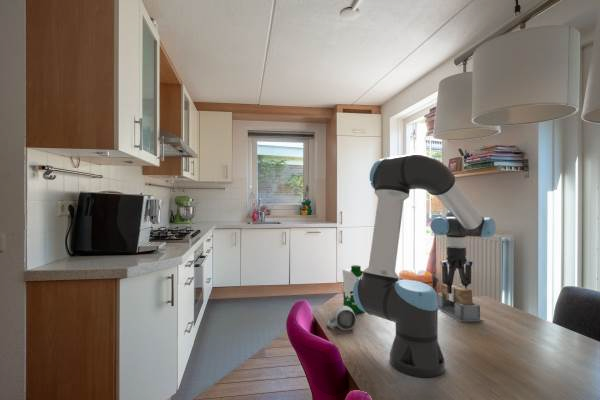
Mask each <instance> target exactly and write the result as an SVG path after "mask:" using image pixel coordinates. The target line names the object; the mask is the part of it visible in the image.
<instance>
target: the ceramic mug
mask: <svg viewBox="0 0 600 400" xmlns="http://www.w3.org/2000/svg"><path fill="white" fill-rule="evenodd" d="M356 324H357V316H356V313H354V312H353V310H352V309H351V308H350V307H348V306H343V305H340V306H339V307H338V308H337V309H336V311H335V316H334V317H332V318H331V319H329V320H327V326H328V327H329V328H334V327H338V328H339V329H340V330H342V331H350V330H351V331H352V330H353V328H354V327H356Z"/></svg>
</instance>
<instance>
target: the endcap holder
mask: <svg viewBox="0 0 600 400" xmlns="http://www.w3.org/2000/svg"><path fill="white" fill-rule="evenodd" d="M436 294H437V302H438V309H439V310H440V311H442V312H443V313H445V314H446V315H448V316H449V317H452V318H453V319H455V320H456V321H457V322H459V323H461V322H462V323H463V322H464V323H465V322H469V323H470V322H484V319H483V318H481V305H479V304H478V303H476V302H473V305H461V304H458V303H455V302H452V301H449V300H446V299H444V296H443V293H442V292H436Z"/></svg>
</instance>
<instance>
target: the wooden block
mask: <svg viewBox="0 0 600 400" xmlns="http://www.w3.org/2000/svg"><path fill="white" fill-rule="evenodd" d="M452 286H454V302H455V303H458V304H460V305H473V301H474V300H473V289H469V288H467V289H466V288H462V287H460V286H458V285H454V284H452ZM441 289H442V290H441V291H442V292H441V293H443V296H444V299H446V300H449V293H448V292H447V285H445V284H441ZM449 301H450V300H449Z"/></svg>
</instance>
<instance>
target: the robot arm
mask: <svg viewBox="0 0 600 400" xmlns="http://www.w3.org/2000/svg"><path fill="white" fill-rule="evenodd" d="M369 181H370V185H371V187H372V189H374V191H373V193H374V194H375V196H376V197H377V205H376V212H375V218H374V225H373V233H372V240H371V248H370V256H369V261H368V262H369V263H368V266H367V267H366V268H365V269H364V271H363V276H361V277H359V278H358V279H357V281H356V282H355V284H354V287H353V298H354V301H355V303H356V305H357V307H358V308H359V309H360V310H362V311H364V312H363V313H366V314H368V315H370V316H375V317H378V318H381V319H384V320H387V321H389V322H393V323H395V336H394V339H393V342H392V344H391V347H390V350H389V363H390V364H391V366H392V367H393V368H394V369H396V371H400V372H401V373H403V374H406V375H409V376H413V377H418V378H435V377H438V376H440V375H442V374H443V373H444V372H445V369H446V367H445V366H446V365H445V364H446V363H445V358H444V354H443V352H442V349H441V346H440V344H439V343H440V342H439V340H438V339H439V336H438V335H439V334H438V332H439V329H438V327H439V326H438V324H439V322H438V320H439V319H438V316H439V315H438V302H437V291H436V290H435V288H433V287H432V286H431V285H430V284H427V283H424V282H421V281H419V280H411V279H400V276H399V275H398V274H397V272H396V265H397V256H398V249H399V240H400V234H401V225H402V217H403V209H404V201H406V200H407V199H408V198H410V192H411V190H424V191H427V192H428V193H429V194H430V195H431V196H435V197H436V198H437V199H438V200H439V201H440V202H441V204H442V205H443V206H444V207H445V208H446V209H447V210H448V211H447V212H446V213H445V216H438V217H437V216H436V217H434V218H433V219H432V220H431V222H430V229H431V231H432V233H434V234H435V235H437V236H445V235H446V246H447V247H446V256H447V257H446V260H440V262H439V263H440V265H441V277H442V285H447V292H448V293H449V300H450V301H452V302H454V286H455V285H454V284H453V283H454V278H455V272H456V270H458V274H459V279H460V283H461V284H459V287H462V288H466V289H468V287H469V285H471V284H472V266H473V261H472V260H469V259H468V258H467V257H466V256H467V248H466V247H467V237H472V238H474V237H475V238H492V237H494V236H495V233H496V226H497V225H496V222H495V220H494V218H493V217H488V216H484V217H483V215H482V214H481V213H480V212H479V211H478V209H476V207H475V206H474V204H473V203H472V201H470V199H469V197H467V195H466V194H465V193H464V191H463V190H462V189H461V187H460V186H459V184H458V183H456V181H457V180H456V176H455V174H454V173H453V172H452V170H451V169H450V168H449V167H448V166H447V165H446V164H444V163H443V162H442V161H440V160H439V159H437V158H435V157H433V156H431V155H428V154H424V153H420V152H419V153H418V152H417V153H410V154H405V155H404V154H403V155H395V156H386V157H384V158H380V159H378V160H376V161H375V162H374V163H373V164H372V166H371V169H370V172H369ZM452 285H454V286H452Z"/></svg>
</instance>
